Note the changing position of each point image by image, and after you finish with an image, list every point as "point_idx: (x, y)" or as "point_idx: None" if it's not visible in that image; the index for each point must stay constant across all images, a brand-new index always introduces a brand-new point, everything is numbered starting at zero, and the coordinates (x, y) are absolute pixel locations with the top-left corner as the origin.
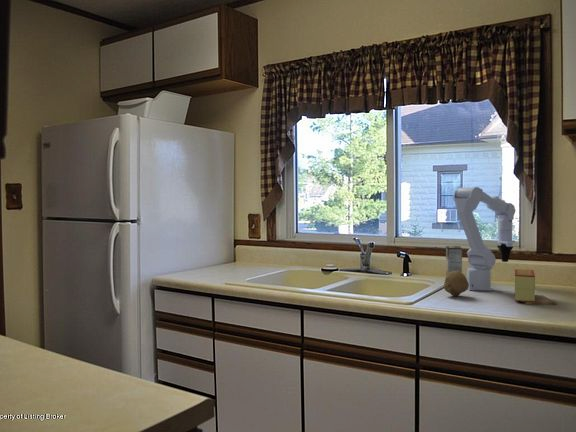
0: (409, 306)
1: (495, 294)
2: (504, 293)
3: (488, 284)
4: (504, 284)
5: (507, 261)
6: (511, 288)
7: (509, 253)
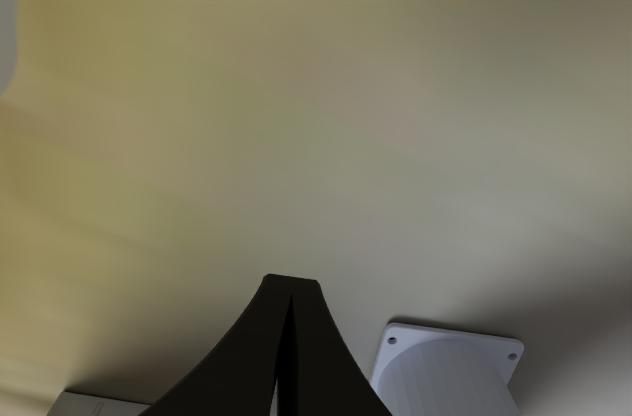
0: None
1: (627, 366)
2: (621, 306)
3: (510, 394)
4: (246, 147)
5: (320, 288)
6: (450, 175)
7: (368, 392)
